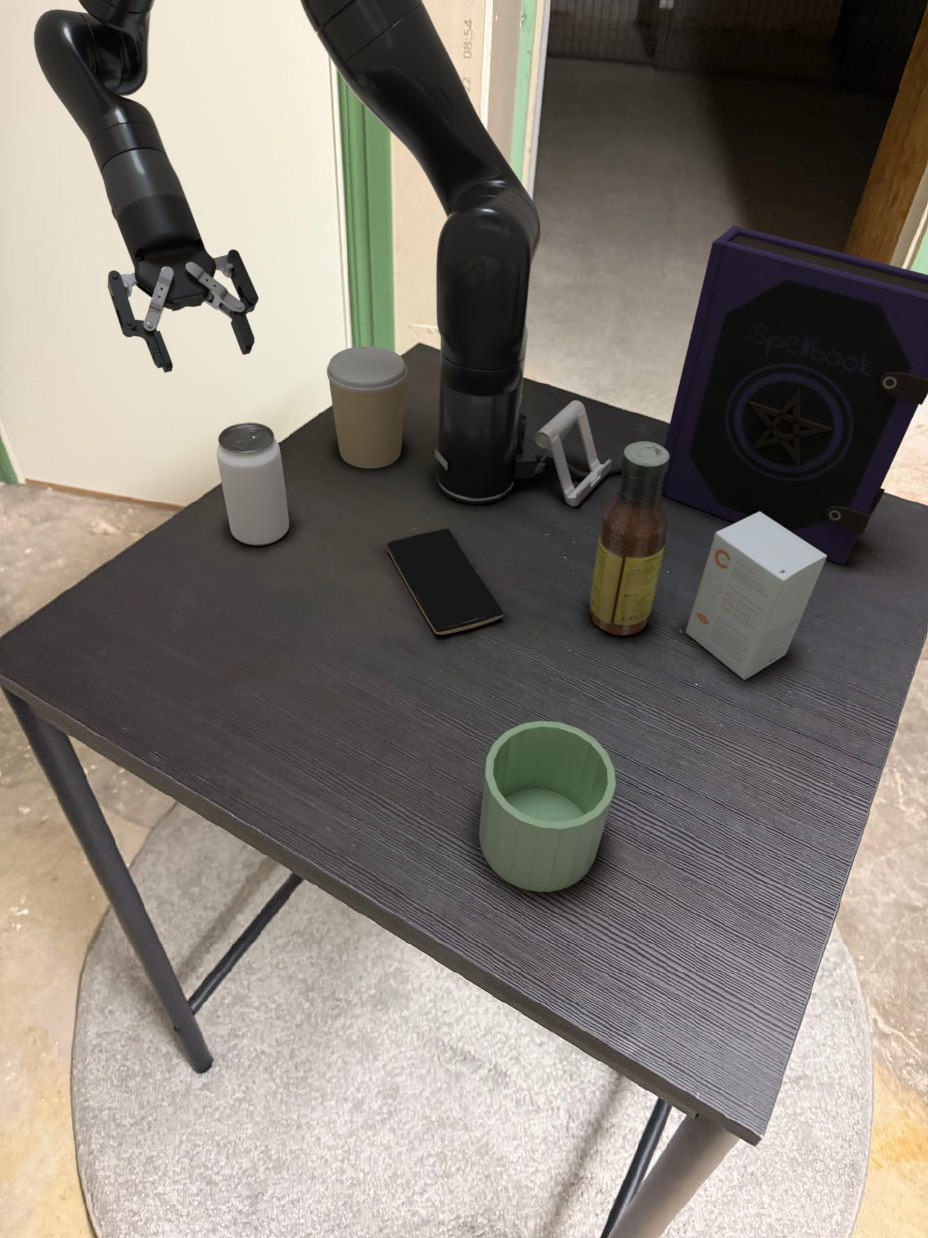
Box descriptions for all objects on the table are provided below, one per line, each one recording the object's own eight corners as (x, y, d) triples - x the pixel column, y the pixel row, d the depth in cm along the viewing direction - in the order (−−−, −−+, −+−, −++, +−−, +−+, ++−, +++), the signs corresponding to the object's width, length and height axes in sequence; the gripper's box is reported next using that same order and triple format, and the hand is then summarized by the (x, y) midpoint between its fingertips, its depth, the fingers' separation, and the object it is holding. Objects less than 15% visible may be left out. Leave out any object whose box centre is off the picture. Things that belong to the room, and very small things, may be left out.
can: (299, 519, 99) (289, 427, 90) (272, 553, 94) (259, 460, 86) (249, 506, 100) (234, 414, 92) (219, 539, 96) (201, 446, 87)
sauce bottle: (655, 608, 90) (698, 445, 77) (637, 647, 86) (680, 482, 72) (595, 589, 92) (627, 426, 78) (575, 625, 88) (605, 461, 74)
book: (652, 494, 105) (711, 241, 84) (673, 470, 109) (734, 223, 88) (845, 569, 96) (965, 309, 75) (861, 540, 100) (979, 285, 79)
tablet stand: (577, 509, 102) (587, 448, 96) (520, 486, 105) (526, 425, 99) (610, 475, 108) (621, 415, 102) (554, 453, 110) (562, 395, 105)
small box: (786, 655, 86) (830, 555, 77) (743, 682, 83) (784, 581, 74) (725, 608, 91) (760, 508, 82) (682, 632, 88) (713, 531, 79)
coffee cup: (412, 434, 112) (412, 347, 104) (401, 475, 106) (400, 386, 97) (341, 428, 113) (335, 341, 104) (325, 468, 106) (318, 379, 98)
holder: (551, 770, 75) (563, 703, 69) (621, 856, 69) (642, 791, 63) (456, 819, 71) (461, 752, 65) (523, 914, 65) (535, 850, 59)
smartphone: (448, 526, 97) (505, 613, 87) (447, 534, 98) (504, 621, 88) (385, 541, 95) (437, 632, 85) (385, 549, 95) (437, 640, 86)
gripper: (81, 202, 83) (144, 363, 85) (223, 181, 89) (280, 332, 90) (81, 239, 90) (139, 388, 91) (213, 217, 96) (266, 358, 97)
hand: (209, 360), depth 91 cm, fingers open, 8 cm apart
